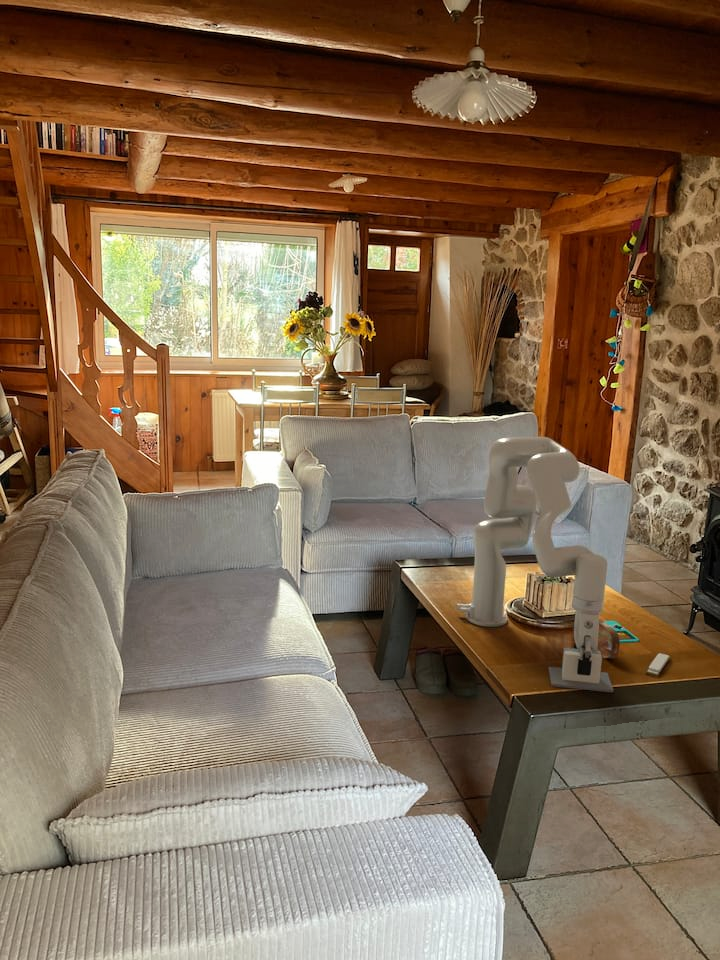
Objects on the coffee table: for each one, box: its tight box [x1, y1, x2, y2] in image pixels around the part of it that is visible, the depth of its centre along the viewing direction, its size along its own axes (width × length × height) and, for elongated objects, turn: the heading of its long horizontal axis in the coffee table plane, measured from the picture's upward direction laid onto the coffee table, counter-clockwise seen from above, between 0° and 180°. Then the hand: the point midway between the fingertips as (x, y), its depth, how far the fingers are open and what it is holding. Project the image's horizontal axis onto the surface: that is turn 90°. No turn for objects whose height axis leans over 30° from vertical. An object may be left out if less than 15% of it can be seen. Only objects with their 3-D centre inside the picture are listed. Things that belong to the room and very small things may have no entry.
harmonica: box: [645, 652, 671, 678], centre depth 204 cm, size 15×3×2 cm, turn 146°
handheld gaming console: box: [603, 620, 640, 644], centre depth 227 cm, size 8×1×15 cm
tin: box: [597, 618, 621, 659], centre depth 212 cm, size 15×3×8 cm, turn 10°
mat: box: [548, 666, 614, 693], centre depth 194 cm, size 15×10×1 cm, turn 80°
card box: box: [561, 647, 603, 683], centre depth 194 cm, size 4×9×7 cm, turn 80°
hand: (581, 666), depth 193 cm, fingers open, 9 cm apart
